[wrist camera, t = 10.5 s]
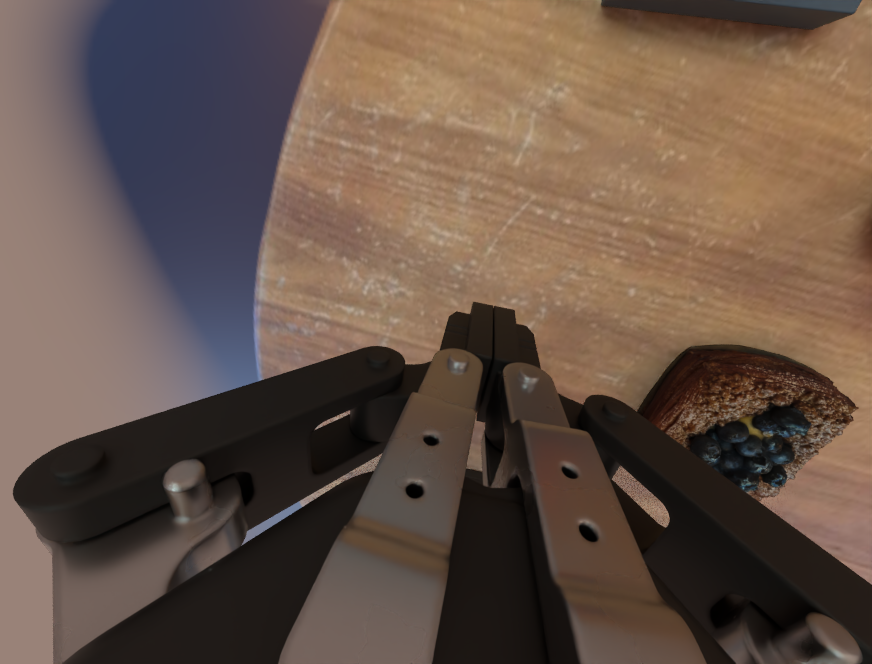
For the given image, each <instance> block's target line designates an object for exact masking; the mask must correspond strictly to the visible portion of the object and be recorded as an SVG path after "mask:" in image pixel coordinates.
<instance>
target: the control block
mask: <svg viewBox="0 0 872 664" xmlns="http://www.w3.org/2000/svg"><path fill="white" fill-rule="evenodd" d="M861 1H862V0H602V3H601V5H602V6H609V7H618V8H627V9H636V10H644V11H653V12H662V13H671V14H679V15H688V16H697V17H706V18H714V19H723V20H732V21H741V22H750V23H758V24H767V25H776V26H785V27H793V28H802V29H811V30H812V29H815V28H818V27H820V26H823V25H825V24H828V23H831V22H833V21H836V20H839V19H841V18H844V17H847V16H849V15H852V14H854V13H855V11H856V10H857V8H858V6H859V4H860V2H861Z"/></svg>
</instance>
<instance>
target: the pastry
mask: <svg viewBox="0 0 872 664" xmlns="http://www.w3.org/2000/svg"><path fill="white" fill-rule="evenodd" d="M856 409H859V408H858V407H856V406H855V404H854V403H853V402H852V401H851V400H850V399H849V397H847V396H845V395H844V394H842V393H841V392H840V391H838V390H837V387H835V386H833V382H832V381H831V380H830V379H829V378H827V377H825V376H823V375H822V374H820V373H818V372H816V371H815V370H813V369H812V368H810V367H808V366H806V365H804V364H802V363H799V362H797V361H795V360H792V359H790V358H788V357H785V356H782V355H779V354H775V353H771V352H767V351H764V350H759V349H755V348H751V347H745V346H740V345H707V346H696V347H691V348H689V349H687V350H686V351H685V352H683V353H682V354H681V355H680V356H679V357H678V358H677V359H676V360H675V361H673V363H672V364H671V365H670V366H669V367H668V368H667V370H666V371H665V372H664V374H663V375H662V376H661V378H660V379H659V381H658V382H657V383H656V385H655V386H654V387H653V389H652V390H651V391H650V393H649V394H648V396H647V397H646V399H645V400H644V402H643V403H642V405H641V407H640V408H639V410H638V412H637V413H639V414H640V415H642V416H643V417H644V418H646V419H647V420H648V421H650V422H651V423H652V424H654V425H655V426H657V427H658V428H659V429H661V430H662V431H663V432H665V433H666V434H667V435H669V436H670V437H671V438H673V439H674V440H676V441H677V442H678V443H680V444H681V445H682V446H684V447H685V448H686V449H688V450H689V451H691V452H692V453H693V454H695V455H696V456H697V457H699V458H700V459H701V460H703V461H704V462H705V463H707V464H708V465H710V466H711V467H712V468H714V469H715V470H716V471H718V472H719V473H720V474H722V475H723V476H724V477H726V478H727V479H729V480H730V481H731V482H733V483H734V484H735V485H737V486H738V487H739V488H741V489H742V490H744V491H745V492H746V493H748V494H749V495H750V496H752V497H753V498H754V499H756V500H757V501H761V500H762V498H764V497H769V496H771V497H773V496H774V497H775V496H777V495H778V494H779V492H780V489H779V488H782V487H785V485H784V484H785V483H786V482H787V481H788V480H789V479H795V475H796V473H797V471H799V470H800V469H802V467H803V466H804V465H805V463H806V462H808V461H809V460H810V459H811V458H812V457H814V456H815V455H817V454H818V453H819V452H818V450H819V449H820V448H823V447H824V446H825V445H826V444H828V443H831V442H832V439H833V438H835V435H837V436H839V435H842V433H843V429H845V428H846V426H847V425H849V423H850V422H851V421H853V417H852V416H851V413H853V412H854V411H855V410H856Z"/></svg>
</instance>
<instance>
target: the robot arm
mask: <svg viewBox="0 0 872 664" xmlns="http://www.w3.org/2000/svg"><path fill="white" fill-rule="evenodd" d="M536 349H537V348H536V344H535V339H534V334H533V333H532V332H531V331H530V330H529V328H528V327H527V326H524V325H519V324H516V318H515V310H512V309H507V308H502V307H497V306H494V308H493V306H492V305H487V304H482V303H478V302H473V304H472V309H471V313H470V314H466V313H461V312H457V311H456V312H455V313H453V314H452V315H451V316H449V318H448V322H447V326H446V329H445V333H444V336H443V340H442V344H441V347H440V351H438V352H437V353H436V354H435V355H434V357H433V359H432V361H431V362H428V363H424V364H415V365H413V364H405V360H404V358H403V356H402V355H401V354H400V353H399V352H397V351H395V350H393V349H391V348H387V347H382V346H371V347H366V348H362V349H359V350H356V351H353V352H350V353H346V354H343V355H340V356H337V357H334V358H331V359H327V360H324V361H321V362H318V363H315V364H312V365H309V366H305V367H302V368H299V369H296V370H293V371H290V372H287V373H283V374H280V375H277V376H274V377H271V378H268V379H264V380H261V381H258V382H255V383H252V384H249V385H246V386H242V387H239V388H236V389H233V390H230V391H227V392H223V393H220V394H217V395H214V396H211V397H208V398H205V399H201V400H198V401H195V402H192V403H189V404H186V405H182V406H180V407H176V408H173V409H170V410H167V411H164V412H161V413H157V414H154V415H151V416H148V417H145V418H142V419H138V420H135V421H132V422H129V423H126V424H123V425H119V426H116V427H113V428H110V429H107V430H104V431H101V432H98V433H94V434H91V435H88V436H85V437H82V438H79V439H76V440H73V441H70V442H68V443H66V444H63V445H61V446H59V447H57V448H55V449H53V450H51V451H50V452H48V453H46V454H45V455H43V456H41V457H40V458H39V459H37V460H36V461H35V462H33V463H32V464H31V465H30V466H29V467H28V468H26V469H25V471H24V472H23V473H22V474H21V475H20V477H19V478H18V480H17V481H16V483H15V486H14V489H13V496H14V499H15V501H16V502H17V503H18V505H19V506H20V508H21V509H22V510H23V511H24V513H25V514H26V515H27V517H28V518H29V519H30V521H31V522H32V523H33V525H34V526H35V527H36V533H37V537H38V538H39V539H40V540H41V542H42V543H43V544H44V546H45V547H46V548H47V549H48V551H49V552H50V553H51V555H52V563H53V656H54V657H53V658H54V659H53V660H54V664H872V585H871V584H870V583H869V582H867V581H866V580H865V579H863V578H862V577H860V576H859V575H858V574H856V573H855V572H854V571H852V570H851V569H850V568H848V567H847V566H845V565H844V564H843V563H841V562H840V561H839V560H837V559H836V558H835V557H833V556H832V555H831V554H829V553H828V552H826V551H825V550H824V549H822V548H821V547H820V546H818V545H817V544H816V543H814V542H813V541H812V540H810V539H809V538H807V537H806V536H805V535H803V534H802V533H801V532H799V531H798V530H797V529H795V528H794V527H792V526H791V525H790V524H788V523H787V522H786V521H784V520H783V519H782V518H780V517H779V516H778V515H776V514H775V513H773V512H772V511H771V510H769V509H768V508H767V507H765V506H764V505H763V504H761V503H760V502H758V501H757V500H756V499H754V498H753V497H752V496H750V495H749V494H748V493H746V492H745V491H744V490H742V489H741V488H739V487H738V486H737V485H735V484H734V483H733V482H731V481H730V480H729V479H727V478H726V477H724V476H723V475H722V474H720V473H719V472H718V471H716V470H715V469H714V468H712V467H711V466H710V465H708V464H707V463H705V462H704V461H703V460H701V459H700V458H699V457H697V456H696V455H695V454H693V453H692V452H691V451H689V450H688V449H686V448H685V447H684V446H682V445H681V444H680V443H678V442H677V441H676V440H674V439H673V438H671V437H670V436H669V435H667V434H666V433H665V432H663V431H662V430H661V429H659V428H658V427H657V426H655V425H654V424H652V423H651V422H650V421H648V420H647V419H646V418H644V417H643V416H642V415H640V414H639V413H637V412H636V411H635V410H633V409H632V408H631V407H629V406H628V405H626V404H625V403H623V402H621V401H619V400H617V399H615V398H612V397H609V396H605V395H592V396H589V397H588V398H587V399H586V400H585V402H584V404H583V405H582V404H580V403H578V402H575V401H573V400H571V399H568V398H566V397H564V396H562V395H560V394H558V393H557V390H556V388H555V385H554V382H553V380H552V378H551V377H550V376H549V375H548V374H547V373H546V372H545V371H543V370H541V368H540V363H539V358H538V353H537V351H536ZM349 410H350V414H349V415H347V416H345V417H343V418H341V419H338V420H336V421H334V422H332V423H329V424H327V425H325V426H323V427H321V428H318V429H316V430H314V429H315V428H316V427H317V426H318V425H319V424H321V423H322V422H324V421H326V420H328V419H331V418H333V417H335V416H337V415H340V414H342V413H344V412H346V411H349ZM476 413H477V420H476V421H481V422H485V430H484V434H483V437H482V440H481V455H482V476H483V485H482V484H480V483H478V482H476V481H473V480H471V479H469V478H467V477H465V471H466V465H467V460H468V455H469V449H470V444H471V438H472V433H473V428H474V422H475V417H476ZM382 453H383V454H382ZM380 454H382V456H381V458H380V460H379V462H378V464H377V466H376V468H375V470H374V471H372V472H368V473H364V474H361V475H358V476H355V477H352V478H350V479H348V480H346V481H344V482H342V483H340V484H339V485H337V486H335V487H334V488H332V489H330V490H329V491H327V492H326V493H324V494H323V495H321V496H319V497H318V498H316V499H315V500H313V501H311V502H310V503H308V504H307V505H305V506H304V507H302V508H300V509H299V510H297V511H296V512H294V513H292V514H291V515H289V516H288V517H286V518H285V519H283V520H281V521H280V522H278V523H277V524H275V525H273V526H272V527H270V528H269V529H267V530H265V531H264V532H262V533H261V534H259V535H258V536H256V537H255V538H253V539H251V540H250V541H248V542H246V543H245V544H244V545H242V543H243V541H244V539H245V537H246V533H247V531H248V530H250V529H252V528H253V527H255V526H257V525H259V524H260V523H262V522H264V521H265V520H267V519H269V518H271V517H272V516H274V515H276V514H278V513H279V512H281V511H283V510H284V509H286V508H288V507H290V506H291V505H293V504H295V503H297V502H298V501H300V500H302V499H304V498H305V497H307V496H309V495H311V494H312V493H314V492H316V491H318V490H319V489H321V488H323V487H324V486H326V485H328V484H330V483H331V482H333V481H335V480H337V479H338V478H340V477H342V476H344V475H345V474H347V473H349V472H350V471H352V470H354V469H356V468H357V467H359V466H361V465H363V464H364V463H366V462H368V461H370V460H371V459H373V458H375V457H377V456H378V455H380ZM620 465H621V466H622V467H623V468H624V469H625V470H626V471H628V472H629V473H630V474H631V475H632V476H633V477H634V478H635V479H637V480H638V481H639V482H640V483H641V484H642V485H643V486H644V487H645V488H647V489H648V490H649V491H650V492H651V493H652V494H653V495H654V496H656V497H657V498H658V499H659V500H660V501H661V502H662V503H663V504H664V506H665V507H666V509H667V511H668V513H669V517H670V522H669V525H668V526H667V528H665V527H663V526H661V525H660V524H658V523H657V522H656V521H655V520H654V519H653V518H652V517H651V516H650V515H649V514H648V513H646V512H645V511H644V510H643V509H642V508H641V507H640V506H639V505H638V504H637V503H636V502H635V501H634V500H633V499H632V498H631V497H630V496H629V495H628V494H626V493H625V492H624V491H623V490H622V489H621V488H620V487H619V486H618V485H617V484H616V483H615V482H614V481H613V480H612V478H613V476H614V474H615V473H616V471H617V470H618V468H619V467H620ZM241 545H242V546H241Z"/></svg>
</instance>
